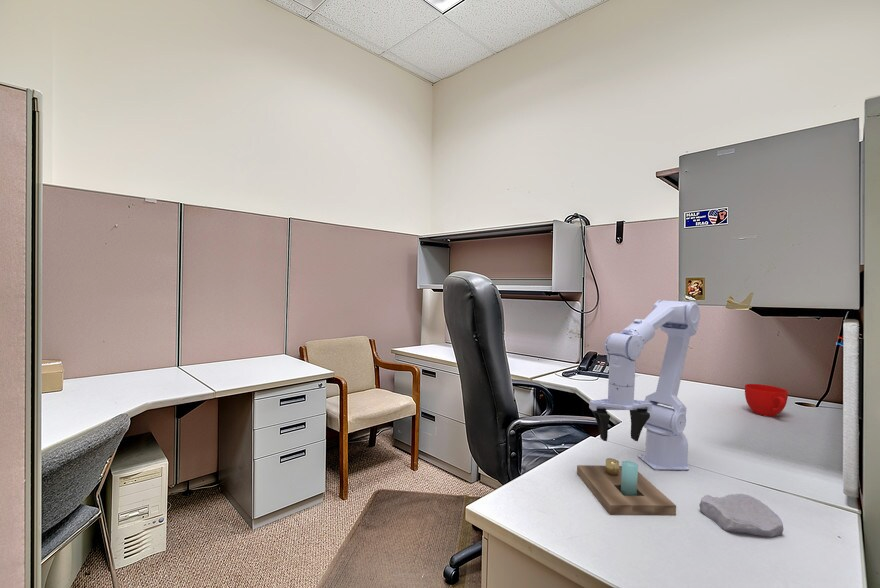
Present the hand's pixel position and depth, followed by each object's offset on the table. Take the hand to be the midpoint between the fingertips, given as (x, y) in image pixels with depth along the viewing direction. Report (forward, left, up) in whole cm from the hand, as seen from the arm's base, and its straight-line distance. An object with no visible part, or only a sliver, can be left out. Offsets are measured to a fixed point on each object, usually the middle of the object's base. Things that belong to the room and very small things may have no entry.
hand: (619, 439), depth 97 cm
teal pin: (+1, +8, -10) cm, 13 cm away
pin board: (+1, +5, -10) cm, 11 cm away
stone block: (-18, +17, -11) cm, 27 cm away
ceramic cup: (-84, -52, -11) cm, 99 cm away
